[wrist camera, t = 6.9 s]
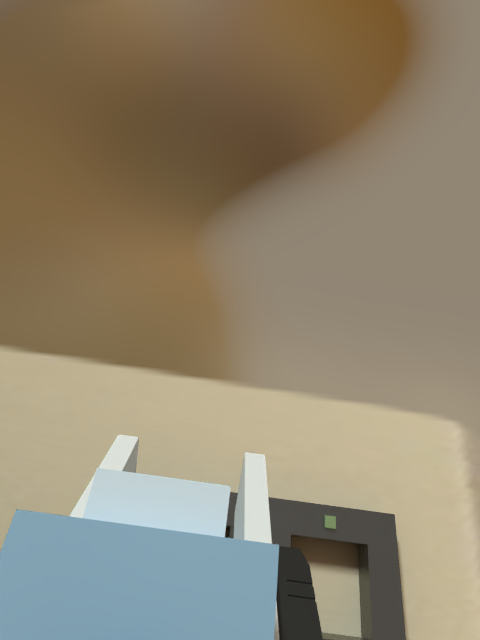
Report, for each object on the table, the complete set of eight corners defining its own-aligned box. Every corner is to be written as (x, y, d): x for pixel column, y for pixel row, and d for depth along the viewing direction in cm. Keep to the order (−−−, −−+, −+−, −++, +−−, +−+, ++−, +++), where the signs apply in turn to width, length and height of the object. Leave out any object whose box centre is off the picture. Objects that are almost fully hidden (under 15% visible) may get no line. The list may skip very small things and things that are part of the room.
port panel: (96, 645, 24) (86, 655, 22) (135, 482, 30) (130, 478, 28) (396, 685, 25) (412, 697, 23) (383, 515, 30) (396, 514, 28)
